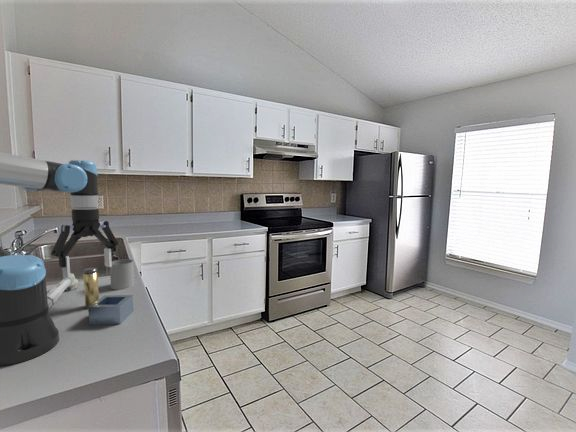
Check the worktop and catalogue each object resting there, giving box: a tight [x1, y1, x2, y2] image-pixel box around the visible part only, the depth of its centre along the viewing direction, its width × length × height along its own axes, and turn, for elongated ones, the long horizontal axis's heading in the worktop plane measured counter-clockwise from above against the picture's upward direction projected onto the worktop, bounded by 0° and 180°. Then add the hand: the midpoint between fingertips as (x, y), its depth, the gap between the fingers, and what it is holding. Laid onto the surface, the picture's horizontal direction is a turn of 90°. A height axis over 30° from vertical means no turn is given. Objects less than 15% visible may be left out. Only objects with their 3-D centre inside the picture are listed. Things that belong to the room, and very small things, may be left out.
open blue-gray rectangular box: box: [87, 294, 134, 326], centre depth 95 cm, size 9×9×6 cm
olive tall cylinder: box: [82, 267, 100, 310], centre depth 103 cm, size 4×4×13 cm
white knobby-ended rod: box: [47, 272, 79, 310], centre depth 110 cm, size 5×7×25 cm
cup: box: [109, 258, 135, 290], centre depth 123 cm, size 8×8×10 cm
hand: (88, 271), depth 102 cm, fingers open, 13 cm apart
